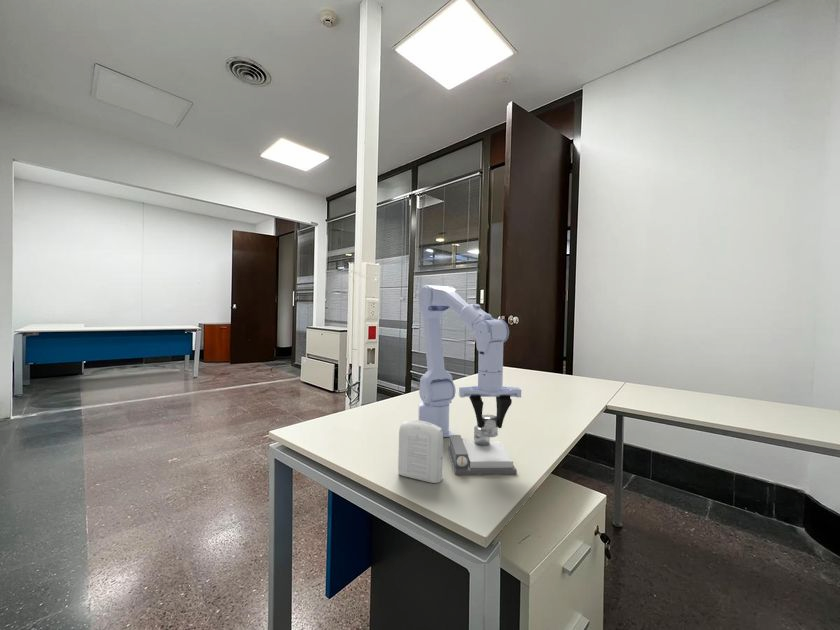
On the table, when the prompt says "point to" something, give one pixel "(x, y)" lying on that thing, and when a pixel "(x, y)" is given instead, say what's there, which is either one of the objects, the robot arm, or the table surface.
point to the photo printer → (420, 451)
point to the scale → (479, 458)
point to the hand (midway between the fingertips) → (489, 426)
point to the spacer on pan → (480, 437)
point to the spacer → (489, 426)
